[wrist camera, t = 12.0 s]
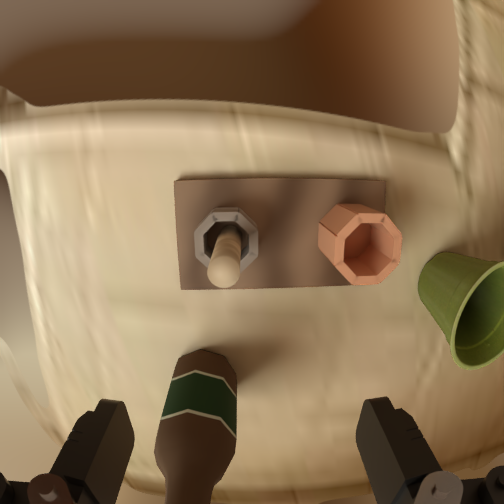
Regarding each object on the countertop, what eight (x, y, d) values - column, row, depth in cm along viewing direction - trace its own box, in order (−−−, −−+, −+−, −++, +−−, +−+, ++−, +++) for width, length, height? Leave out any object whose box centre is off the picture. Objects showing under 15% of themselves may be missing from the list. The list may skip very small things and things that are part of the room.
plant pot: (405, 336, 37) (449, 388, 26) (394, 250, 34) (449, 287, 23) (476, 303, 36) (526, 341, 25) (471, 221, 33) (534, 244, 22)
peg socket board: (382, 180, 31) (398, 183, 28) (374, 280, 34) (389, 294, 31) (175, 180, 31) (166, 183, 27) (182, 286, 34) (175, 301, 30)
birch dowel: (241, 224, 31) (239, 256, 22) (241, 246, 32) (240, 287, 22) (218, 225, 31) (205, 258, 22) (219, 247, 32) (208, 288, 22)
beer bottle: (233, 345, 36) (229, 543, 13) (239, 395, 38) (242, 572, 15) (167, 348, 36) (108, 531, 13) (179, 397, 38) (145, 565, 15)
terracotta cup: (377, 204, 31) (404, 214, 25) (373, 262, 33) (397, 282, 27) (319, 203, 31) (336, 213, 25) (317, 264, 33) (332, 286, 27)
